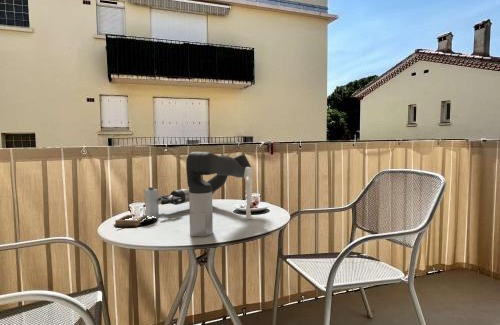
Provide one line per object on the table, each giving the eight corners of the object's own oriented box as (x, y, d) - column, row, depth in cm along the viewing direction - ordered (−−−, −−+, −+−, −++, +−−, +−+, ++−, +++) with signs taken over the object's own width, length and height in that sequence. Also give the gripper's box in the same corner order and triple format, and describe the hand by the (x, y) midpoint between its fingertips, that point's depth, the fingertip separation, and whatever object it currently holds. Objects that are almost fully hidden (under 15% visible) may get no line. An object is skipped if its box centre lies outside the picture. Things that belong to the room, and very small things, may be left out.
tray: (137, 226, 137) (136, 220, 137) (115, 225, 138) (115, 220, 138) (147, 220, 147) (146, 215, 147) (126, 219, 148) (126, 214, 148)
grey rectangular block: (158, 217, 152) (157, 187, 151) (151, 219, 148) (149, 188, 147) (153, 216, 155) (152, 186, 153) (145, 218, 151) (144, 187, 150)
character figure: (255, 226, 137) (255, 169, 135) (244, 226, 137) (243, 169, 134) (253, 212, 161) (253, 164, 159) (244, 212, 161) (244, 164, 159)
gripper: (190, 204, 162) (165, 211, 149) (172, 202, 171) (147, 207, 158) (190, 190, 162) (165, 195, 149) (172, 188, 170) (146, 192, 157)
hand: (155, 201), depth 153 cm, fingers open, 8 cm apart
